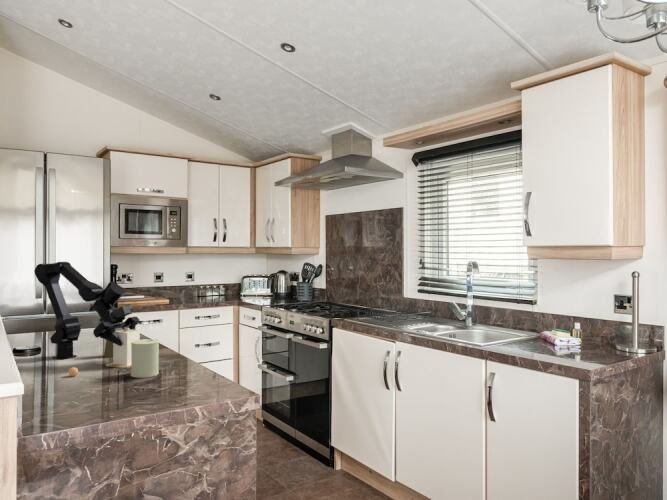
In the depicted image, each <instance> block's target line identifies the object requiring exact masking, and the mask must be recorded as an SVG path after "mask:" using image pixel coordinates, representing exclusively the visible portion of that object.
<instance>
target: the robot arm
mask: <svg viewBox="0 0 667 500" xmlns="http://www.w3.org/2000/svg"><path fill="white" fill-rule="evenodd" d="M34 275H35V277H36V278H37V280H38V282H39V283H40V284H42V286H44V287H45V290H46V292H47V293H46V294H47V296H48V299H49V301H50V305H51V307H52V309H53V313H54V315H55V319H56V322H55V325H54V330H55V331H54V333H53V334H52V335H51V337H50V338H49V339H50V340H49V341H50V343H51V344H55V355H52V357H51V358H53V359H58V360H66V359H73V358H77V355H76V354H74V341H78V340H79V337H80V334H81V332H82V330H81V327H82V325H81V324H80V322H79V318H78V316H72V315H71V314H70V313H71V312H70V310H69V308H68V306H67V301H66V300H65V297H64V293H63V292H62V288H61V286H60V283H59V282H60V278H61V275H62V277H64V279H66V280H67V281H68V283H70V284H71V285H72V286H74V287H75V288H76V289H77V291H78V295H79V296H80V297H81V299H82V301H84V302H86V303H87V302H88V303H89V302H93V303H91V304H90V306H89V312H96V314H97V315H98V316H99V323H98V324H97V325H96V327H95V328H93V331H92V332H93V333H92V334H93V336H94V337H95V338H100V339H103V340H105V341H106V340H108V341H111V342H113V343H115V344H117V345H119V346H122V342H121V340H120V339H119V337H118V336H117V334H116V332H115V329H118V330H119V329H121V330H124V328H130V329H131V330H137V329H136V326H137V324H138V323H139V322H140V321H141V320H140V319H139V317H138V316H129V315H132V314H133V312H134V308H133V306H132V305H131V304H126V305H123V306H120V307H118V308H115V307H114V306H113V305H115V304H116V303H117V302H118V301H119V300H120V299H121V298H122V297H123V295H124V294H125V293H126V292H125V289H124V287H123V286H121V285H119V284H117V283H115V282H114V281H109V282H108V284H107V286H106V287H105V288H103V287H102V286H101V285H99V284H97V283H96V282H92V281H90V280H88V279H87V278H86V277H84V276H83V274H81V273H80V272H79V271H78V270H76V268H74V266H72V265H71V263H70V262H68V261H57V262H54V263H38V264H37V265H36V266H35V268H34ZM127 316H129V317H127ZM126 317H127V319H126Z"/></svg>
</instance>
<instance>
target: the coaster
mask: <svg viewBox="0 0 667 500" xmlns="http://www.w3.org/2000/svg"><path fill="white" fill-rule="evenodd" d="M105 367H111V368H119V369H130V368H131V364H130V365H119V364H113V362H110V363H106V364H105Z"/></svg>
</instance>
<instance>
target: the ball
mask: <svg viewBox="0 0 667 500" xmlns="http://www.w3.org/2000/svg"><path fill="white" fill-rule="evenodd" d="M78 374H79V369H78V368H77V367H75V366H73V367H70V368H69V369H68V375H69V376H70V377H75V376H77V375H78Z"/></svg>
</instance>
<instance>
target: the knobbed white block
mask: <svg viewBox="0 0 667 500" xmlns="http://www.w3.org/2000/svg"><path fill="white" fill-rule="evenodd" d="M118 330H119V329H118ZM115 332H116V334H117V336H118V337H119V339H120V340H121V342H122V346H119V345H117V344H115V343H113V359H112V363H113V364H119V365H130V364H131V342H132V341H135V340H141V337H140V336H141V334H140V333H141V330H139V329H136V330H131V329H130V328H124V330H123V329H121V330H119V331H115Z"/></svg>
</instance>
